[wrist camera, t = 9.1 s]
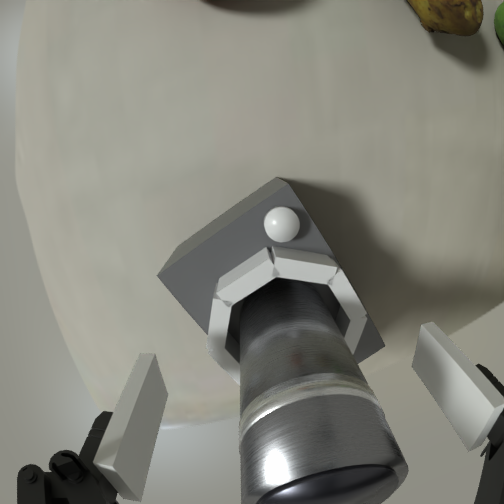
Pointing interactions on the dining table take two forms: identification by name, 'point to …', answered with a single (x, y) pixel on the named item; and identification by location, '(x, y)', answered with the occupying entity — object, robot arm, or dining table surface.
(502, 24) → the fruit
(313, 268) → the grey block
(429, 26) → the potato
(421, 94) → the dining table surface
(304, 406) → the lens
